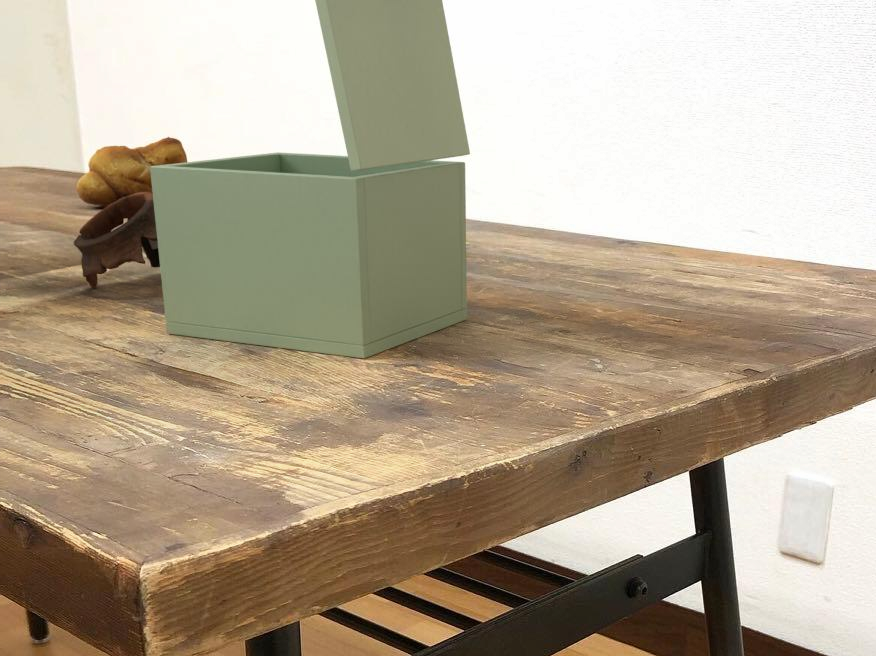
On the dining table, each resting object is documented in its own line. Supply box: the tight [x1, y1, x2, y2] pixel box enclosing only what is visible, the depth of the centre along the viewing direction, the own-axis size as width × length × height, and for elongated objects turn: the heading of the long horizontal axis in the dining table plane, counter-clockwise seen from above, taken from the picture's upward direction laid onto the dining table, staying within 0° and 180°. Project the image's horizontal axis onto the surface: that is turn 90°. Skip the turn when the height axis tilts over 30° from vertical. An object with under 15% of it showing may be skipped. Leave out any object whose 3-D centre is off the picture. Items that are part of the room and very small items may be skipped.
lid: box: [314, 0, 471, 171], centre depth 76 cm, size 16×14×1 cm
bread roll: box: [76, 136, 188, 207], centre depth 148 cm, size 13×10×8 cm
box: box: [150, 152, 468, 359], centre depth 84 cm, size 16×14×11 cm
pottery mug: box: [73, 192, 160, 289], centre depth 99 cm, size 12×10×8 cm
